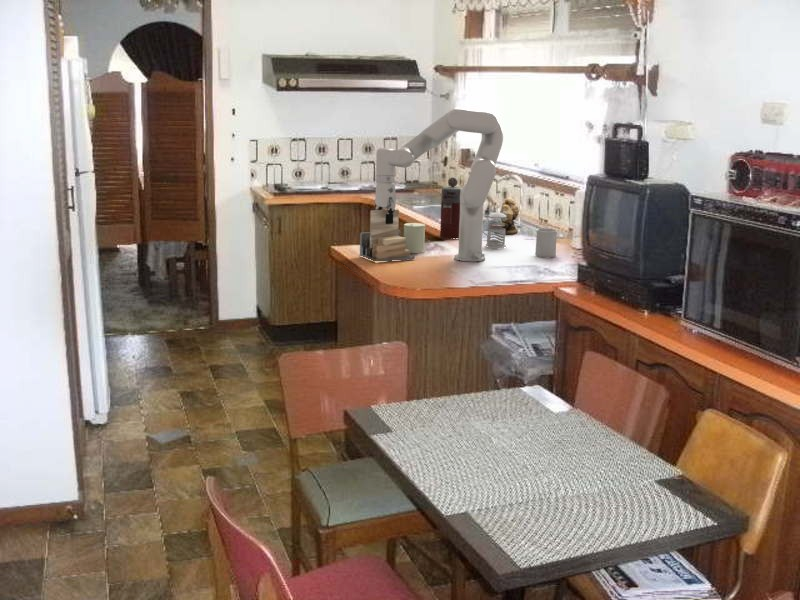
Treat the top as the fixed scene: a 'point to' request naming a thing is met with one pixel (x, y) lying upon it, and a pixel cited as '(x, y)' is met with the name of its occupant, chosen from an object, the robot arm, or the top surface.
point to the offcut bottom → (391, 254)
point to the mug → (546, 243)
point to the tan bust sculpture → (509, 216)
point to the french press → (496, 231)
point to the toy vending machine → (450, 210)
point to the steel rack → (367, 251)
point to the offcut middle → (388, 248)
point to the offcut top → (392, 241)
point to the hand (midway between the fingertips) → (384, 222)
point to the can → (414, 237)
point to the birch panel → (382, 225)
